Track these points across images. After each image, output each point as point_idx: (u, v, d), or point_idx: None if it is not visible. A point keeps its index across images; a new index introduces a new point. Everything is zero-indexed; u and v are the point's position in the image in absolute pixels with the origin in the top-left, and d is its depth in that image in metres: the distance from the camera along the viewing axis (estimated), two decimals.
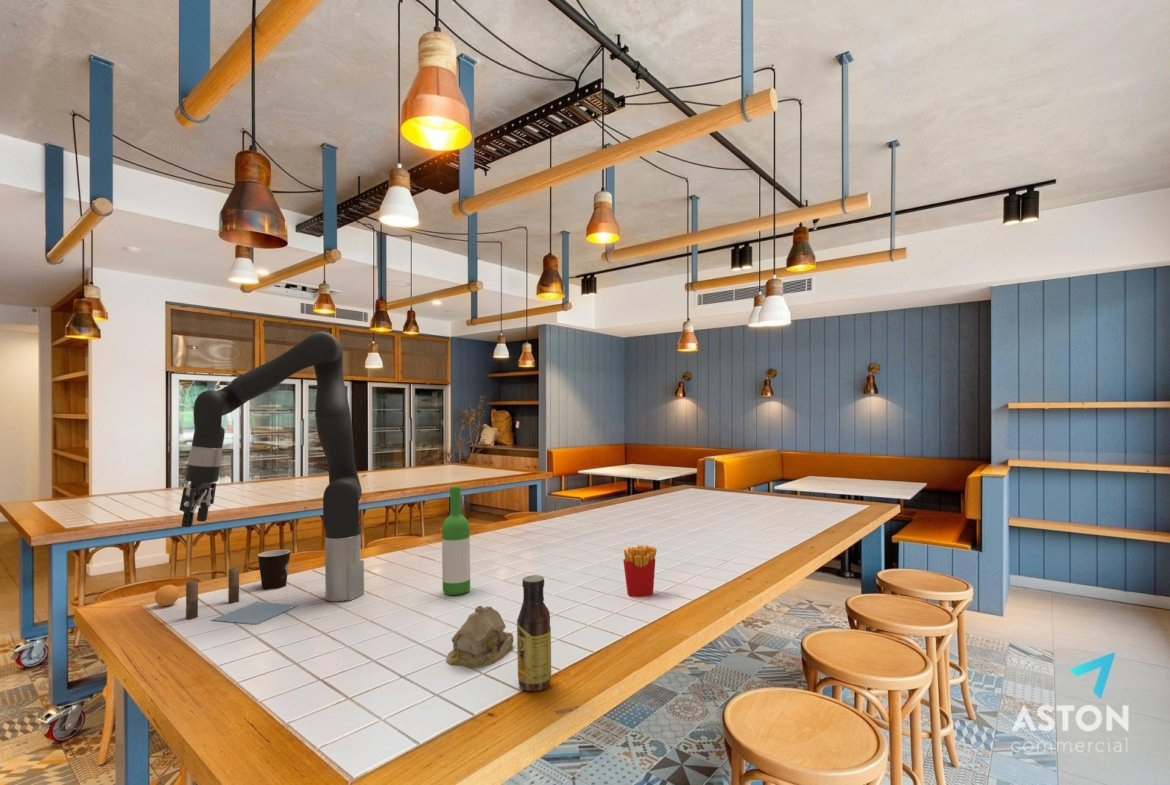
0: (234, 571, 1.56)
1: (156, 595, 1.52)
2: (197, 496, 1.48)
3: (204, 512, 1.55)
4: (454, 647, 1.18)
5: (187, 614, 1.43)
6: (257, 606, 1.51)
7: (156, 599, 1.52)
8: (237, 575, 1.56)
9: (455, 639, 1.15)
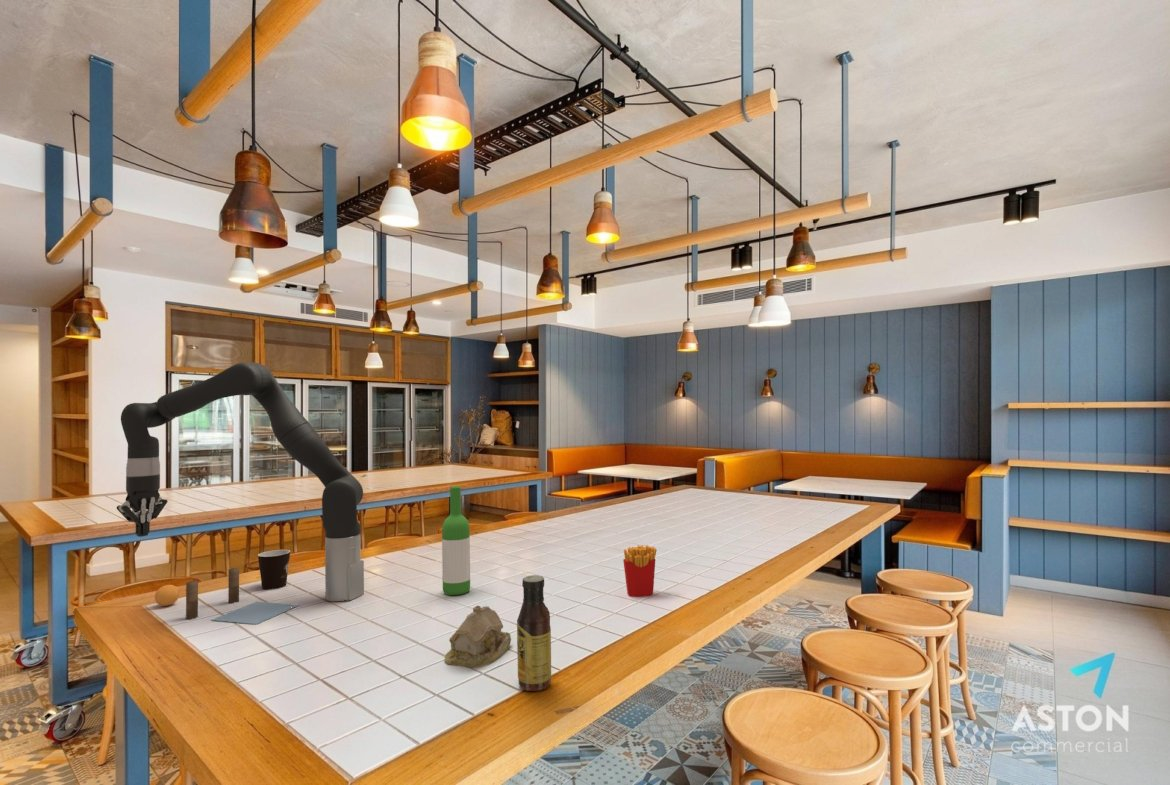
0: (234, 571, 1.56)
1: (156, 595, 1.52)
2: (138, 508, 1.56)
3: None
4: (452, 647, 1.18)
5: (187, 614, 1.43)
6: (257, 606, 1.51)
7: (156, 599, 1.52)
8: (237, 575, 1.56)
9: (453, 639, 1.15)
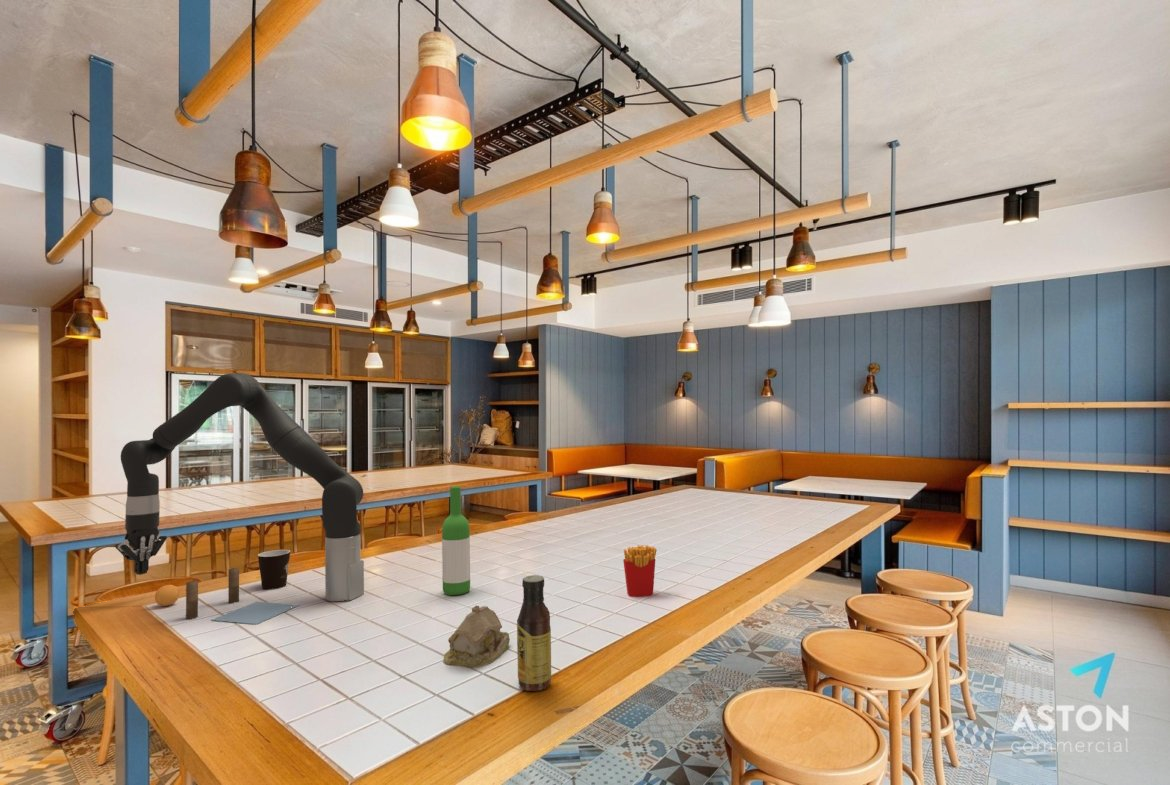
0: (234, 571, 1.56)
1: (156, 595, 1.52)
2: (137, 546, 1.55)
3: None
4: (451, 647, 1.18)
5: (187, 614, 1.43)
6: (257, 606, 1.51)
7: (156, 599, 1.52)
8: (237, 575, 1.56)
9: (452, 639, 1.15)
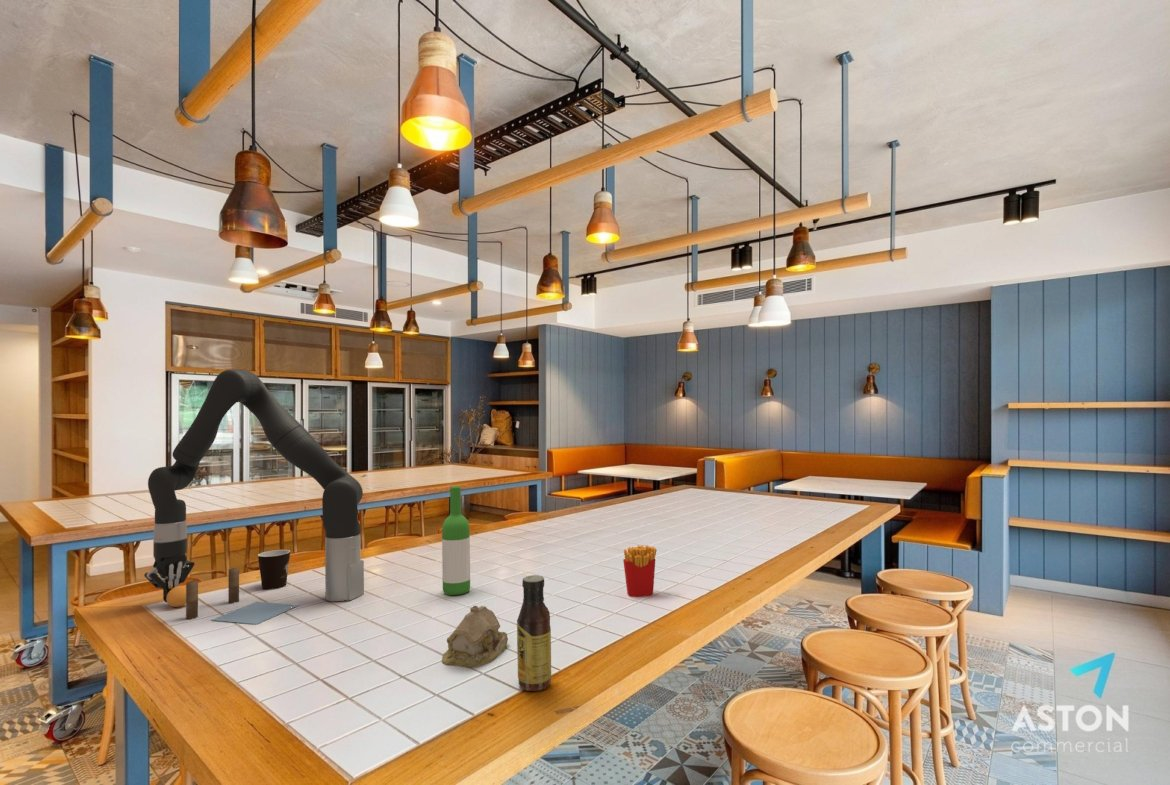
0: (234, 571, 1.56)
1: (171, 596, 1.51)
2: (166, 574, 1.53)
3: None
4: (449, 648, 1.18)
5: (187, 614, 1.43)
6: (257, 606, 1.51)
7: (168, 598, 1.51)
8: (237, 575, 1.56)
9: (451, 639, 1.15)
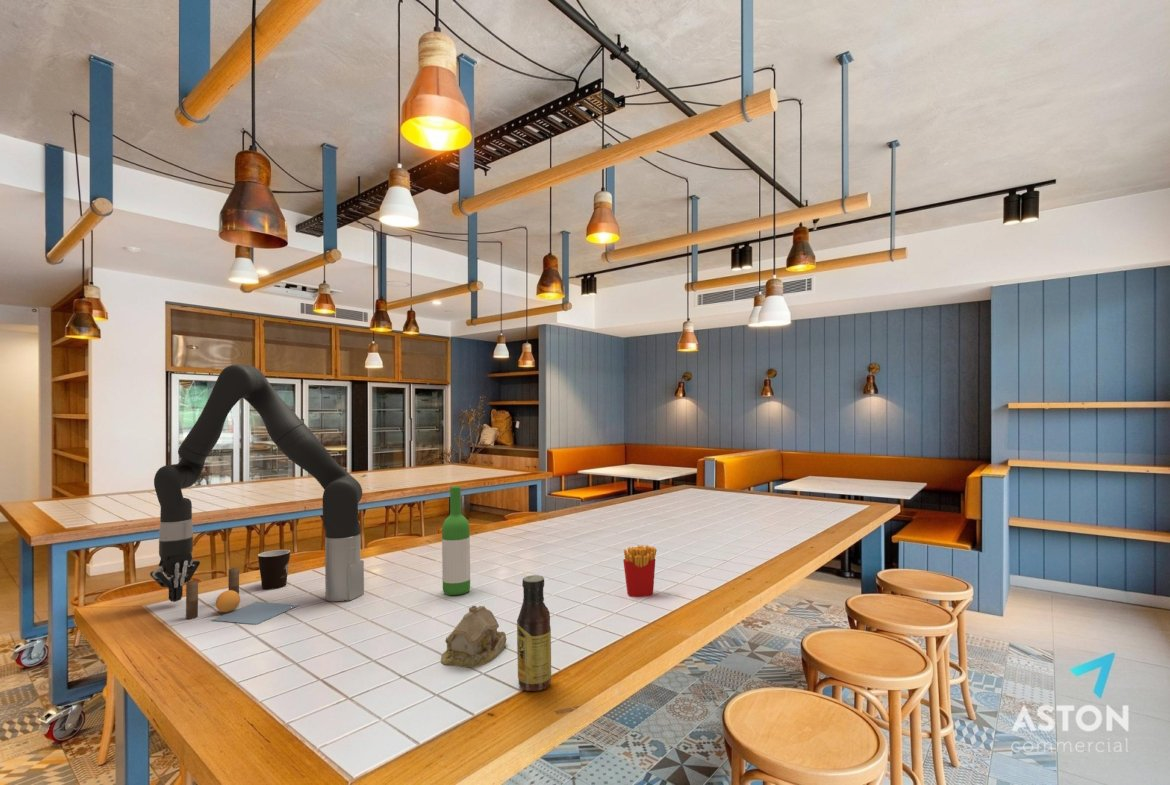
0: (234, 571, 1.56)
1: (221, 601, 1.46)
2: (171, 572, 1.52)
3: None
4: (448, 648, 1.17)
5: (187, 614, 1.43)
6: (257, 606, 1.51)
7: (217, 603, 1.46)
8: (237, 575, 1.56)
9: (450, 639, 1.15)
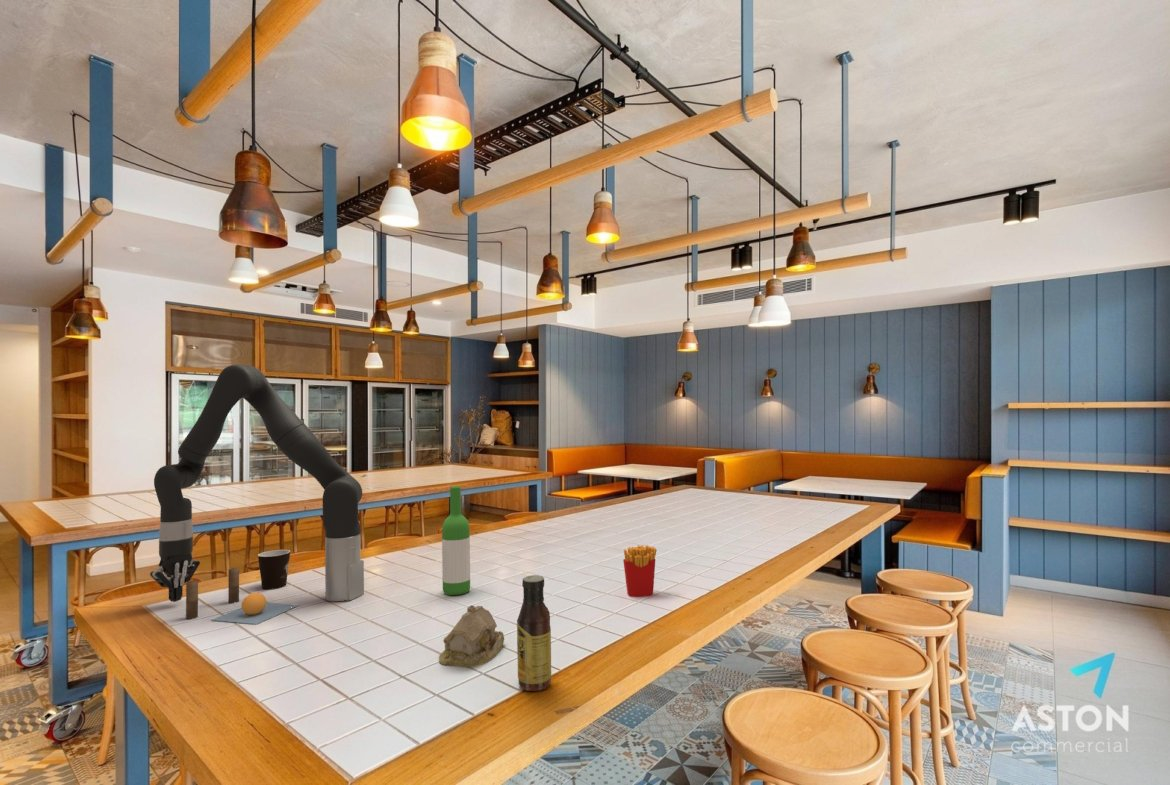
0: (234, 571, 1.56)
1: (243, 609, 1.43)
2: (171, 572, 1.52)
3: None
4: (446, 648, 1.17)
5: (187, 614, 1.43)
6: None
7: (245, 608, 1.43)
8: (237, 575, 1.56)
9: (448, 639, 1.15)
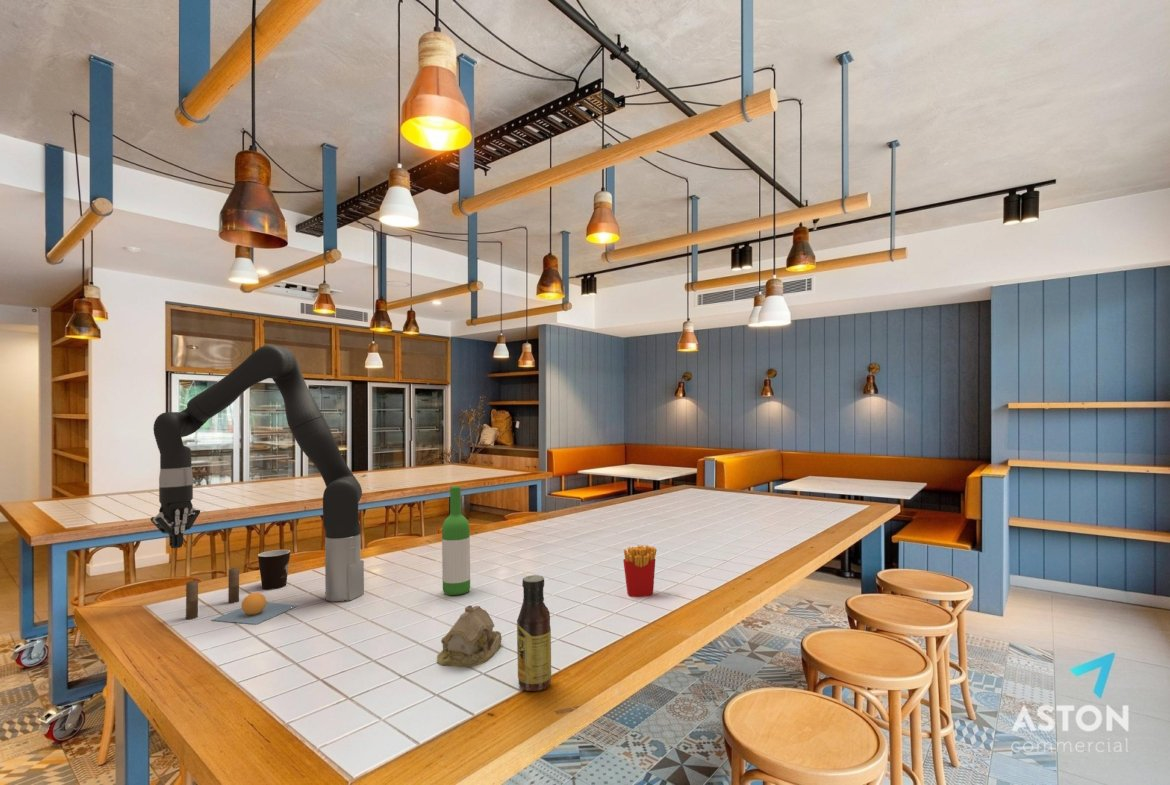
0: (234, 571, 1.56)
1: (243, 609, 1.43)
2: (172, 519, 1.52)
3: None
4: (444, 648, 1.17)
5: (187, 614, 1.43)
6: None
7: (245, 608, 1.43)
8: (237, 575, 1.56)
9: (446, 640, 1.15)
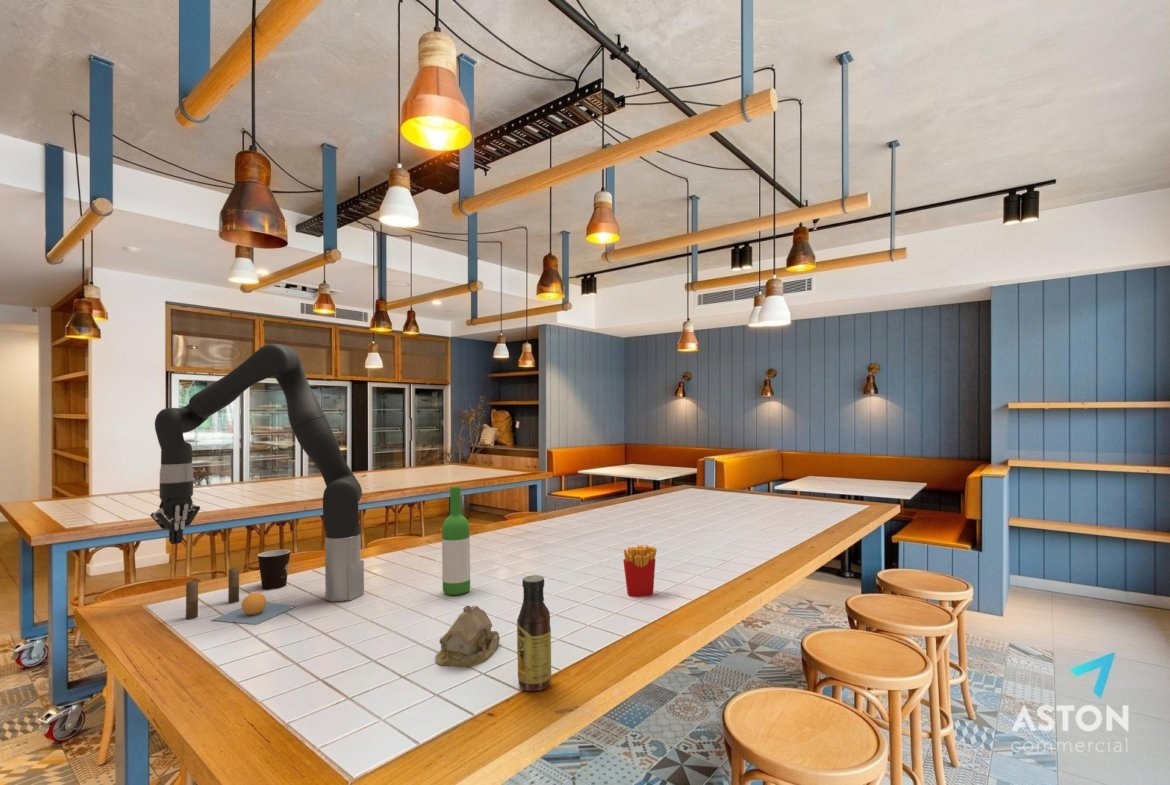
0: (234, 571, 1.56)
1: (243, 609, 1.43)
2: (172, 515, 1.52)
3: None
4: (442, 648, 1.17)
5: (187, 614, 1.43)
6: None
7: (245, 608, 1.43)
8: (237, 575, 1.56)
9: (445, 640, 1.15)
